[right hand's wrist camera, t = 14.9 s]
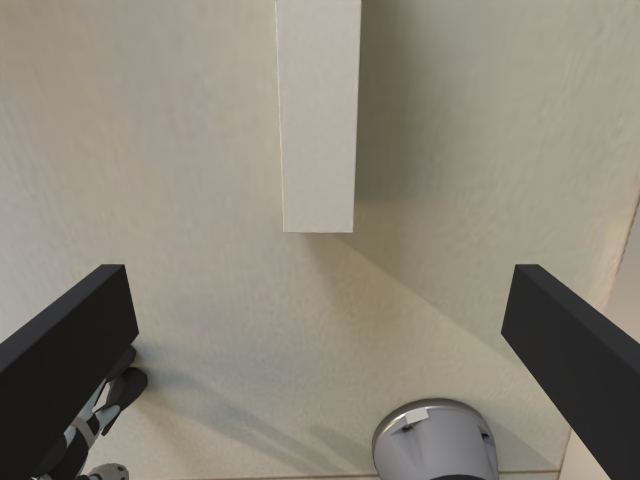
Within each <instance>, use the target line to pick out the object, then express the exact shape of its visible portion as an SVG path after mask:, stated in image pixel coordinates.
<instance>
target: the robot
mask: <svg viewBox="0 0 640 480" xmlns="http://www.w3.org/2000/svg"><path fill="white" fill-rule="evenodd" d="M135 354H136V351H135V350H134V349H133V347H132V346H131V345H130V346H129V347H128V349H127V350H126V351H125V353H124V354H123V355H122V357H121V358H120V359H119V361H118V362H117V363H116V365H115V366H114V367H113V369H112V370H111V371H110V373H109V374H108V375H107V377H106V378H105V379H104V381H103V382H102V383H101V385H100V386H99V387H98V389H97V390H96V391H95V393H94V394H93V395H92V397H91V398H90V399H89V401H88V402H87V403H86V405H85V406H84V407H83V409H82V410H81V411H80V413H79V414H78V415H77V416H76V418H75V419H74V420H73V422H72V423H71V424H70V426H69V427H68V428H67V430H66V431H65V432H64V434H63V435H62V436H61V438H60V439H59V440H58V442H57V443H56V444H55V446H54V447H53V448H52V450H51V451H50V452H49V454H48V455H47V456H46V458H45V459H44V460H43V462H42V463H41V464H40V466H39V467H38V468H37V470H36V471H35V472H34V474H33V475H32V476H31V477H33V478H36V479H37V480H129V472H128V471H127V469H126V468H125V466H123V465H120V464H116V463H113V464H104V465H101V466H98V467H96V468H94V469H93V470H91V471H90V472H89V473H88V474H87V475H81V476H80V474H81V472H82V470H83V468H84V466H85V463H86V460H87V456H88V451H89V449H90V448H91V446H92V445H93V444H94V442H95V440H96V439H97V437H98V435H99V433H100V431H101V430H102V429H103V428H104V429H103V431H102V433H101V435H103V436H105V435H106V434H107V433H108V431H109V430H110V428H111V427H112V425H113V424H114V422H115V421H116V419H117V417H118V416H119V414H120V413H121V412H122V411H123V410H124V409H125V408H127V407H128V406H129V405H130V404H131V403H133V402H134V401H135V400H136V399H137V398H138V397H139V396H140V394H141V393H142V392H143V390H144V389H145V387H146V386H147V375H145V374H144V373H142V372H141V371H139V370H138V369H134V368H128V367H129V366H130V364H131V363H132V362H133V360H134V357H135ZM108 382H110V383H109V385H110V390H109V393H108V396H107V399H106V404H105V405H104V406H102V407H101V408H99V409H98V410H96V411H95V412H94V413H93V412H92V409H93V407H94V406H96V404H97V402H98V399H99V397H100V395H101V393H102V391H103V389H104V387H105V385H106V383H108ZM98 411H100V412H98ZM96 412H98V413H97V414H95V413H96ZM29 480H34V479H32V478H30V479H29Z"/></svg>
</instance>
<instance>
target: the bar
mask: <svg viewBox="0 0 640 480" xmlns="http://www.w3.org/2000/svg"><path fill="white" fill-rule="evenodd" d="M361 8H362V0H275V9H276V36H277V64H278V91H279V118H280V145H281V172H282V199H283V227H284V233H353V225H354V198H355V171H356V144H357V116H358V89H359V62H360V35H361Z"/></svg>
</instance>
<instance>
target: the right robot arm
mask: <svg viewBox="0 0 640 480" xmlns="http://www.w3.org/2000/svg"><path fill="white" fill-rule="evenodd" d="M138 334H139V330H138V326H137V321H136V316H135V311H134V307H133V302H132V297H131V293H130V288H129V283H128V279H127V274H126V269H125V265H124V264H102V265H100V266H99V267H98V268H96V269H95V270H94V271H93V272H91V273H90V274H89V275H88V276H86V277H85V278H84V279H82V280H81V281H80V282H79V283H77V284H76V285H75V286H74V287H72V288H71V289H70V290H68V291H67V292H66V293H65V294H63V295H62V296H61V297H60V298H58V299H57V300H56V301H54V302H53V303H52V304H51V305H49V306H48V307H47V308H46V309H44V310H43V311H42V312H40V313H39V314H38V315H37V316H35V317H34V318H33V319H32V320H30V321H29V322H28V323H26V324H25V325H24V326H23V327H21V328H20V329H19V330H17V331H16V332H15V333H14V334H12V335H11V336H10V337H9V338H7V339H6V340H5V341H3V342H2V343H1V344H0V480H29V479H30V478H31V476H32V475H33V474H34V472H35V471H36V470H37V468H38V467H39V466H40V464H41V463H42V462H43V460H44V459H45V458H46V456H47V455H48V454H49V452H50V451H51V450H52V448H53V447H54V446H55V444H56V443H57V442H58V440H59V439H60V438H61V436H62V435H63V434H64V432H65V431H66V430H67V428H68V427H69V426H70V424H71V423H72V422H73V420H74V419H75V418H76V416H77V415H78V414H79V413H80V411H81V410H82V409H83V407H84V406H85V405H86V403H87V402H88V401H89V399H90V398H91V397H92V395H93V394H94V393H95V391H96V390H97V389H98V387H99V386H100V385H101V383H102V382H103V381H104V379H105V378H106V377H107V375H108V374H109V373H110V371H111V370H112V369H113V367H114V366H115V365H116V363H117V362H118V361H119V359H120V358H121V357H122V355H123V354H124V353H125V351H126V350H127V349H128V347H129V346H130V345H131V343H132V342H133V341H134V339H135V338H136V337H137V335H138ZM501 334H502V335H503V337H504V338H505V339H506V341H507V342H508V343H509V345H510V346H511V347H512V349H513V350H514V351H515V353H516V354H517V355H518V357H519V358H520V359H521V361H522V362H523V363H524V365H525V366H526V367H527V369H528V370H529V371H530V373H531V374H532V375H533V377H534V378H535V379H536V381H537V382H538V383H539V385H540V386H541V387H542V389H543V390H544V391H545V393H546V394H547V395H548V397H549V398H550V399H551V401H552V402H553V403H554V405H555V406H556V407H557V409H558V410H559V411H560V413H561V414H562V415H563V417H564V418H565V419H566V420H567V422H568V423H569V424H570V426H571V427H572V428H573V430H574V431H575V432H576V434H577V435H578V436H579V438H580V439H581V440H582V442H583V443H584V444H585V446H586V447H587V448H588V450H589V451H590V452H591V454H592V455H593V456H594V458H595V459H596V460H597V462H598V463H599V464H600V466H601V467H602V468H603V470H604V471H605V472H606V474H607V475H608V476H609V478H610V479H611V480H640V344H639V343H638V342H636V341H635V340H634V339H633V338H631V337H630V336H629V335H628V334H626V333H625V332H624V331H623V330H621V329H620V328H619V327H617V326H616V325H615V324H614V323H612V322H611V321H610V320H608V319H607V318H606V317H605V316H603V315H602V314H601V313H600V312H598V311H597V310H596V309H594V308H593V307H592V306H591V305H589V304H588V303H587V302H586V301H584V300H583V299H582V298H580V297H579V296H578V295H577V294H575V293H574V292H573V291H572V290H570V289H569V288H568V287H566V286H565V285H564V284H563V283H561V282H560V281H559V280H558V279H556V278H555V277H554V276H552V275H551V274H550V273H549V272H547V271H546V270H545V269H544V268H542V267H541V266H540V265H538V264H516V265H515V269H514V274H513V279H512V283H511V288H510V293H509V297H508V302H507V307H506V311H505V316H504V321H503V326H502V330H501ZM372 452H373V459H374V465H375V468H376V470H377V472H378V475H379V477H380V478H381V480H499V473H498V465H497V457H496V449H495V443H494V439H493V436H492V434H491V432H490V430H489V428H488V426H487V424H486V422H485V420H484V419H483V417H482V416H481V415H480V414H479V413H478V412H477V411H476V410H474V409H473V408H471V407H470V406H468V405H466V404H464V403H461V402H458V401H454V400H449V399H425V400H419V401H415V402H412V403H409V404H406V405H404V406H402V407H400V408H398V409H396V410H395V411H393V412H392V413H390V414H389V415H388V416H387V417H386V418H385V419H384V420H383V421H382V422H381V423H380V424H379V426H378V427H377V429H376V431H375V433H374V436H373V440H372Z"/></svg>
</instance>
